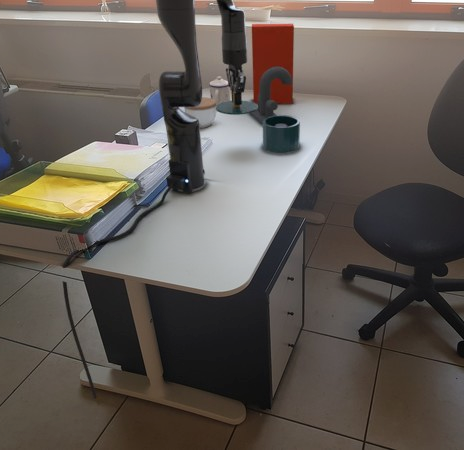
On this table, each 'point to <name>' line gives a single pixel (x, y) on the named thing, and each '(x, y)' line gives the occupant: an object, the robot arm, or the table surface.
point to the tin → (281, 134)
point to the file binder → (273, 58)
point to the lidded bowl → (203, 111)
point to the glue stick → (280, 125)
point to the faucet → (269, 92)
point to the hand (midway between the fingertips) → (236, 103)
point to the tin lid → (236, 107)
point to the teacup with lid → (220, 90)
